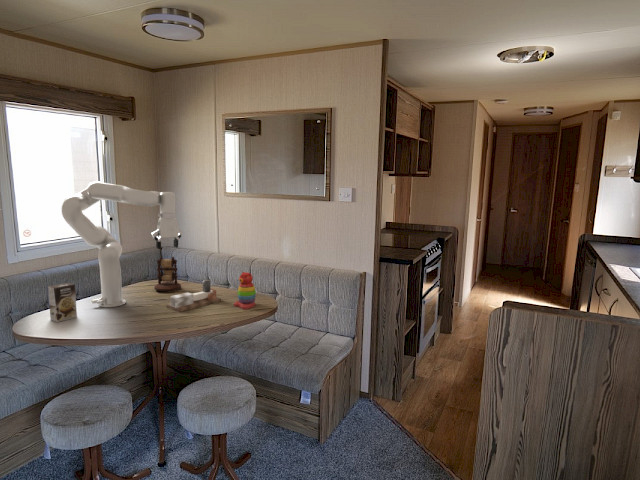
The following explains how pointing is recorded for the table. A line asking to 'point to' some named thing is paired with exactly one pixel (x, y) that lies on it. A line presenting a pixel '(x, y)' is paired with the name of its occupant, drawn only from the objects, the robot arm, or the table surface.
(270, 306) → the table surface
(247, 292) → the stacking bear
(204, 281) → the white block with knob
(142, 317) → the table surface
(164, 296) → the table surface
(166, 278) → the wooden spool holder
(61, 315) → the coffee box
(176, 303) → the wooden board
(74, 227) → the robot arm
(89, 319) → the table surface
